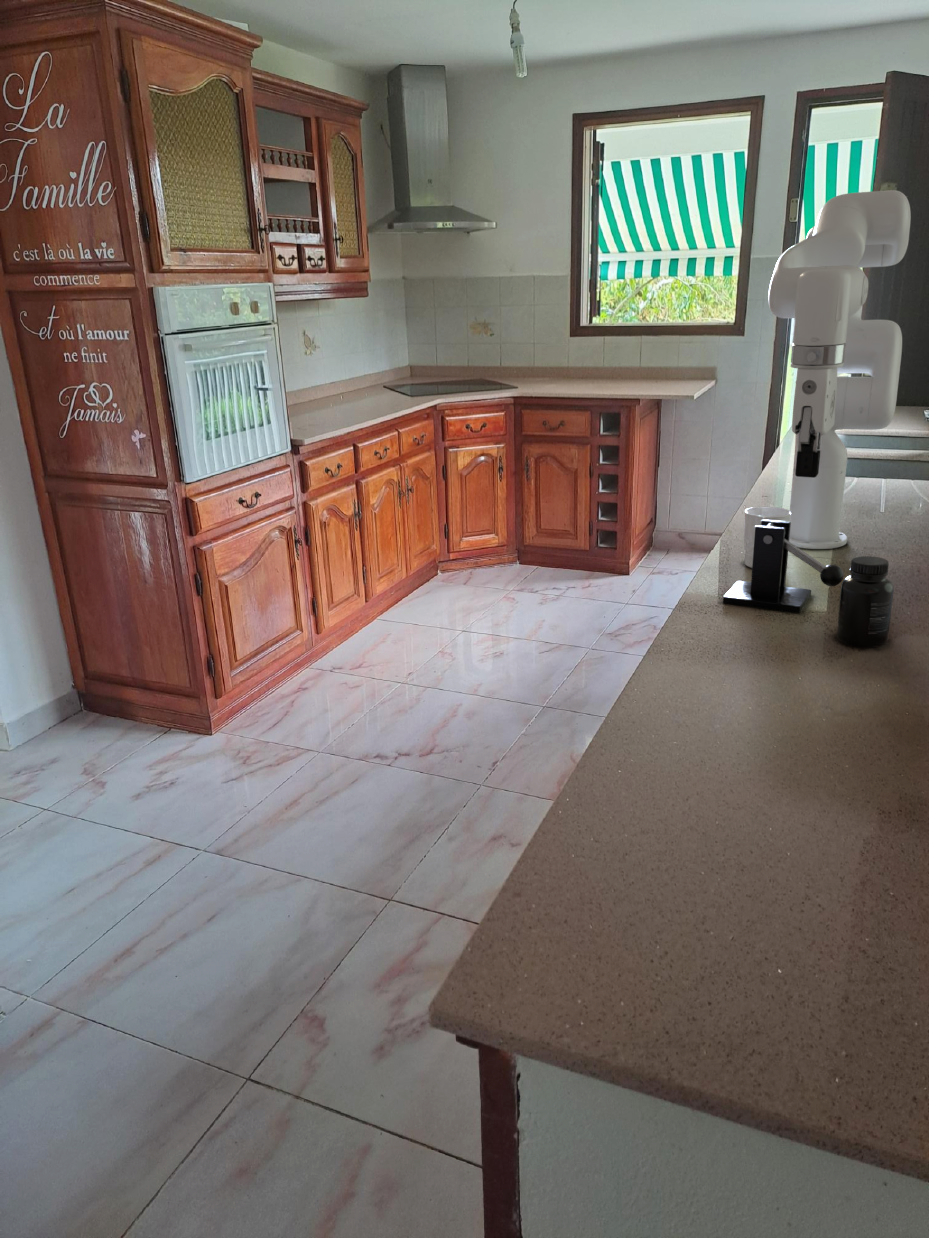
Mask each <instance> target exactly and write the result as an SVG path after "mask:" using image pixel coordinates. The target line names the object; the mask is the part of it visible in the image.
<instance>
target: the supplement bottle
mask: <svg viewBox="0 0 929 1238" xmlns="http://www.w3.org/2000/svg"><path fill="white" fill-rule="evenodd" d="M889 564H890V563H889V561H888V560H887V559H886V558H883V557H880V556H870V555H862V556H855V557H853V558H851V561H850V568H849V575H848V576H846V577H844V578H843V580H842V581H841V584H840V585H841V586H840V593H839V594H840V595H839V606H838V615H837V626H836V627H837V628H836V637H837V639H838V641H840V642H841V643H843V644H845V645H847V646H851V647H855V648H861V649H862V648H863V649H869V648H870V649H872V648H873V649H874V648H878V647H882V646H884V645H886V644H887V643H888V641H889V635H890V628H891V627H890V626H891V619H892V611H893V610H892V608H893V601H894V590H895V586H894V583H893V582H892V581H891V580H890V579H889V578H888V577H887V576H888V575H889Z"/></svg>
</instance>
